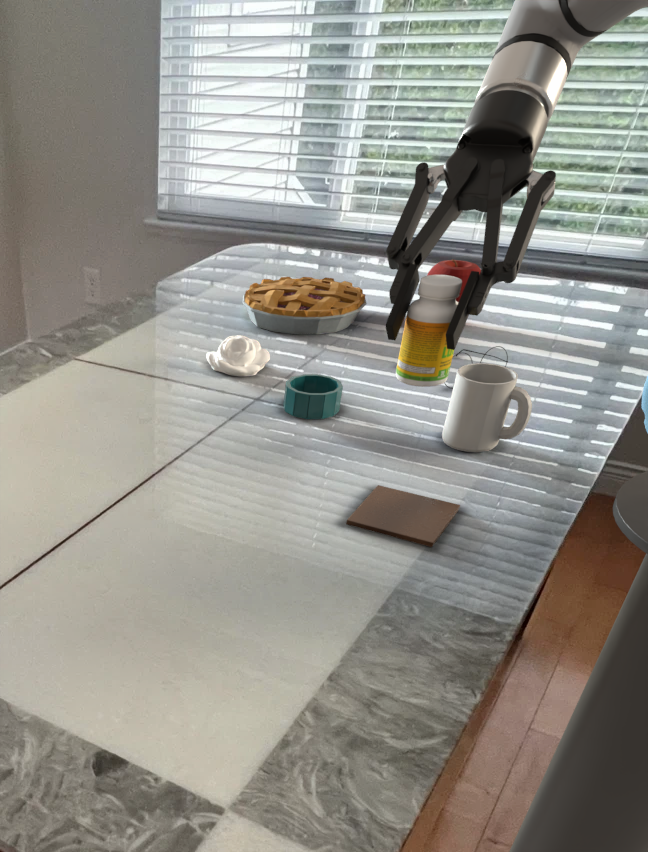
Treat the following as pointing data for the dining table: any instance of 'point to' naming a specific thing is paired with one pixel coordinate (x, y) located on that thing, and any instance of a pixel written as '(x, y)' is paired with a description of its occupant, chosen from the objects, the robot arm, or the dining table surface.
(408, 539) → the coaster
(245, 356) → the rose
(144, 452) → the dining table surface
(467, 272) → the apple
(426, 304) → the supplement bottle
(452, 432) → the cup
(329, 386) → the teal bowl
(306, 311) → the pie
